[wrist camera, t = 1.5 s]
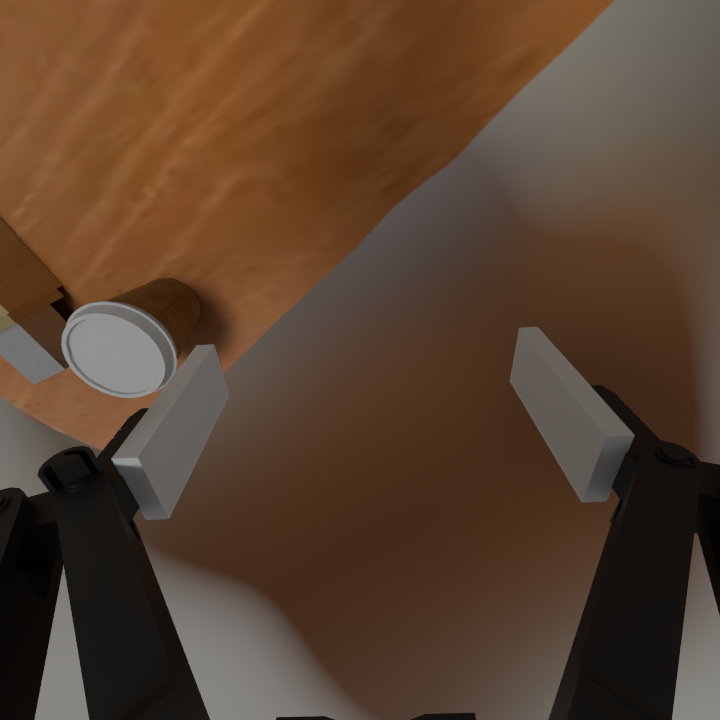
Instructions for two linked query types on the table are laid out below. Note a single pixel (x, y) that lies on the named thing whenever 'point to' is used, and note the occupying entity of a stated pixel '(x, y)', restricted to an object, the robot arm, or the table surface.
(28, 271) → the bar with tan sleeve
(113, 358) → the disposable coffee cup
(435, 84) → the table surface
